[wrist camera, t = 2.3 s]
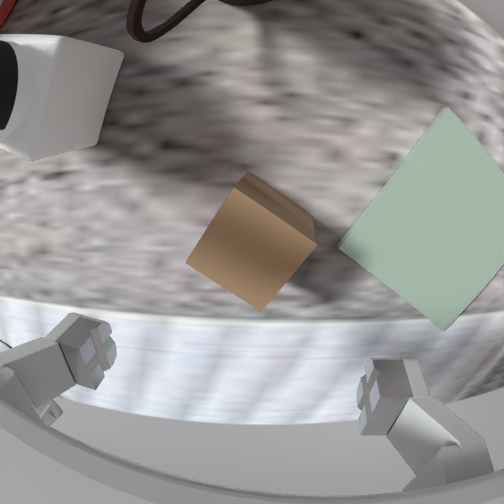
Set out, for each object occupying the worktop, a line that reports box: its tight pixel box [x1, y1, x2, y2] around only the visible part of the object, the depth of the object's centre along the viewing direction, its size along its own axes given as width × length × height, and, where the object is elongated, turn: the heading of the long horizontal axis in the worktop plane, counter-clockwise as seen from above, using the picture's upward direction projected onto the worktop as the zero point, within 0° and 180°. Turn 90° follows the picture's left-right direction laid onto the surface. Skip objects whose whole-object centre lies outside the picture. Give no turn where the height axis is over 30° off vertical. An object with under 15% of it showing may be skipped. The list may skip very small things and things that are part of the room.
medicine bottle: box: [0, 34, 124, 161], centre depth 13 cm, size 7×7×12 cm
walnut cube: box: [185, 172, 318, 311], centre depth 18 cm, size 5×5×5 cm
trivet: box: [337, 107, 504, 331], centre depth 18 cm, size 12×12×1 cm
